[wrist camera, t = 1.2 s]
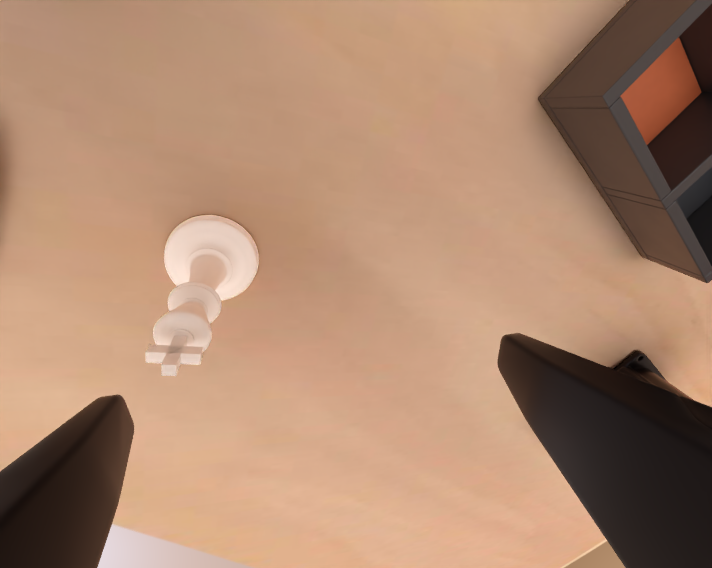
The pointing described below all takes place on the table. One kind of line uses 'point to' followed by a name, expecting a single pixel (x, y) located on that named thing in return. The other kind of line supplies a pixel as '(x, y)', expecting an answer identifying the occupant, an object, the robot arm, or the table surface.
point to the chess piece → (200, 286)
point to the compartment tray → (647, 126)
